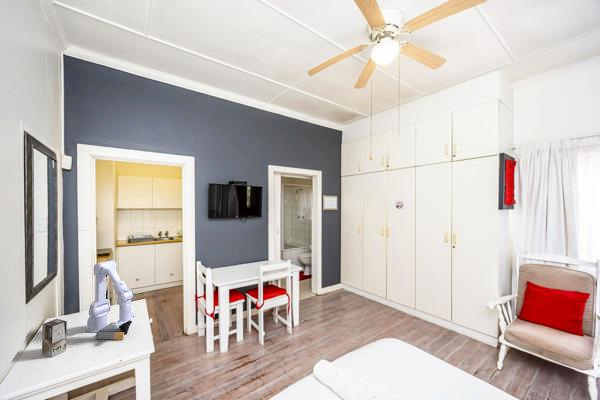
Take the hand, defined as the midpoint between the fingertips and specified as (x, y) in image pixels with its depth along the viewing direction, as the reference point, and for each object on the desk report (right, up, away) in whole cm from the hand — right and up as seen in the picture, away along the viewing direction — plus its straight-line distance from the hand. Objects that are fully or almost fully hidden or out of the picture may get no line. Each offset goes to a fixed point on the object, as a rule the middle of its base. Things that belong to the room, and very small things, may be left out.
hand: (124, 334), depth 146 cm
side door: (-7, -1, -3) cm, 7 cm away
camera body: (-9, -2, +3) cm, 10 cm away
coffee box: (-27, -1, -15) cm, 31 cm away
